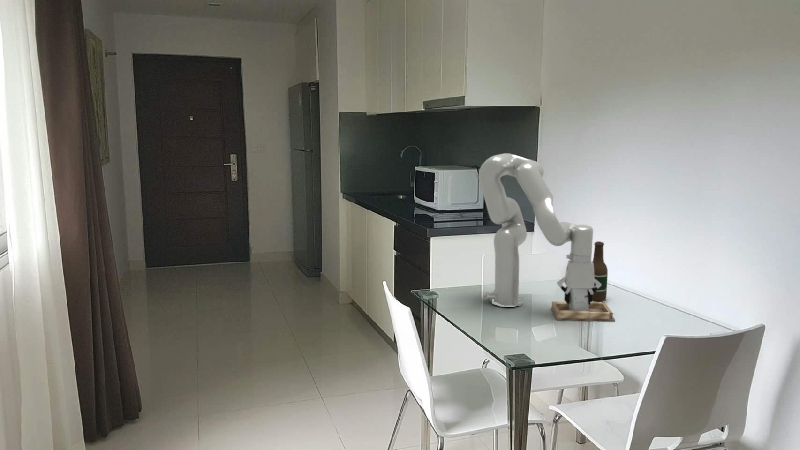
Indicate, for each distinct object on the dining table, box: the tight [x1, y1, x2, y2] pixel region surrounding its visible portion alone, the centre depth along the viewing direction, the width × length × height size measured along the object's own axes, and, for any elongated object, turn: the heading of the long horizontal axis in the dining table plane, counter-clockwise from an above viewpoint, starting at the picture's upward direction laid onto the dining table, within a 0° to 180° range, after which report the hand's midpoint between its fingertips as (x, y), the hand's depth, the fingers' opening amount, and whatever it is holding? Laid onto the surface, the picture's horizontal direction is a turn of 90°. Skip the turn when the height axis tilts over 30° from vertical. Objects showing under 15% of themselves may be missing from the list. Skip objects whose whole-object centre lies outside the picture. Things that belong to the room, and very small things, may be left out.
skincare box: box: [569, 288, 589, 311], centre depth 224 cm, size 6×4×12 cm
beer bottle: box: [592, 240, 609, 302], centre depth 240 cm, size 8×8×24 cm
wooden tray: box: [550, 301, 616, 322], centre depth 225 cm, size 21×13×3 cm, turn 85°
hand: (577, 302), depth 224 cm, fingers closed on skincare box, 7 cm apart
